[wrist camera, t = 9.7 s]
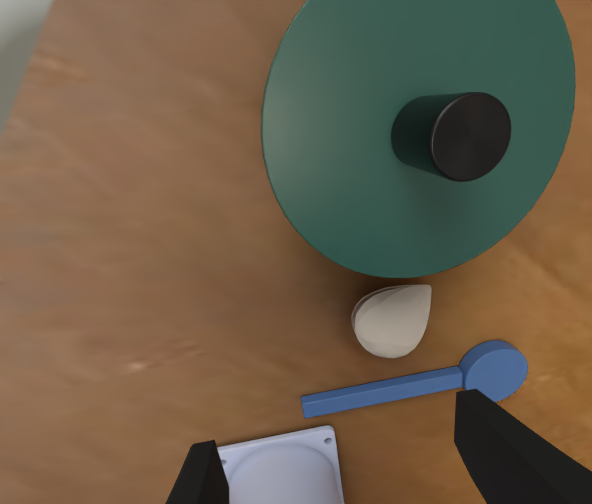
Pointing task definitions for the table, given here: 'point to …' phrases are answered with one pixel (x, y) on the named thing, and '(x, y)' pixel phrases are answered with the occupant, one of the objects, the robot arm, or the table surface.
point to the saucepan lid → (415, 126)
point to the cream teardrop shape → (392, 319)
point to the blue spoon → (433, 381)
